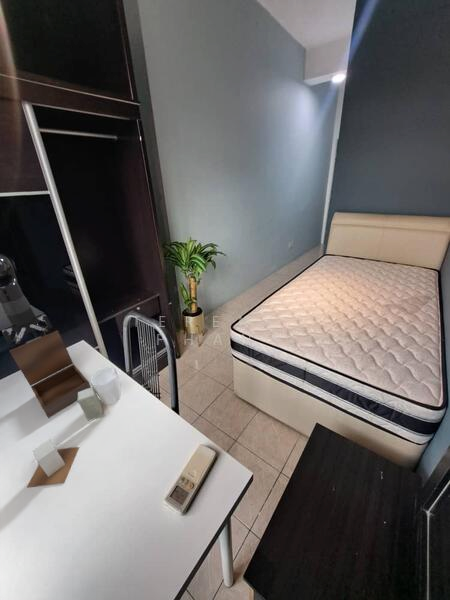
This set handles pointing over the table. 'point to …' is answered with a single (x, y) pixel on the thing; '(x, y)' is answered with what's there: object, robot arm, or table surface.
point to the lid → (42, 357)
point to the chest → (60, 390)
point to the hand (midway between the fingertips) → (36, 344)
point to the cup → (107, 385)
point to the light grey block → (48, 457)
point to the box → (90, 403)
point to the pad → (60, 475)
